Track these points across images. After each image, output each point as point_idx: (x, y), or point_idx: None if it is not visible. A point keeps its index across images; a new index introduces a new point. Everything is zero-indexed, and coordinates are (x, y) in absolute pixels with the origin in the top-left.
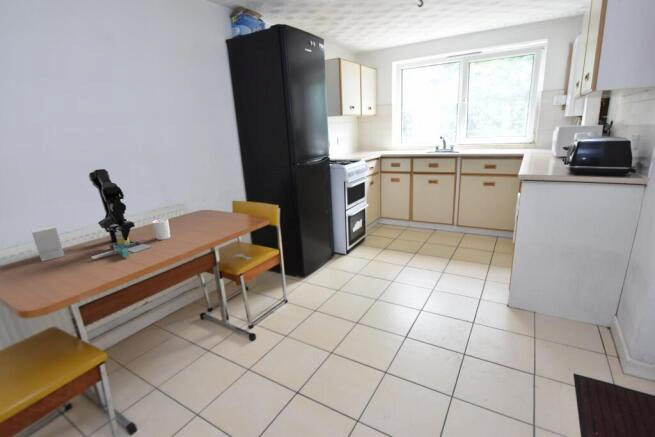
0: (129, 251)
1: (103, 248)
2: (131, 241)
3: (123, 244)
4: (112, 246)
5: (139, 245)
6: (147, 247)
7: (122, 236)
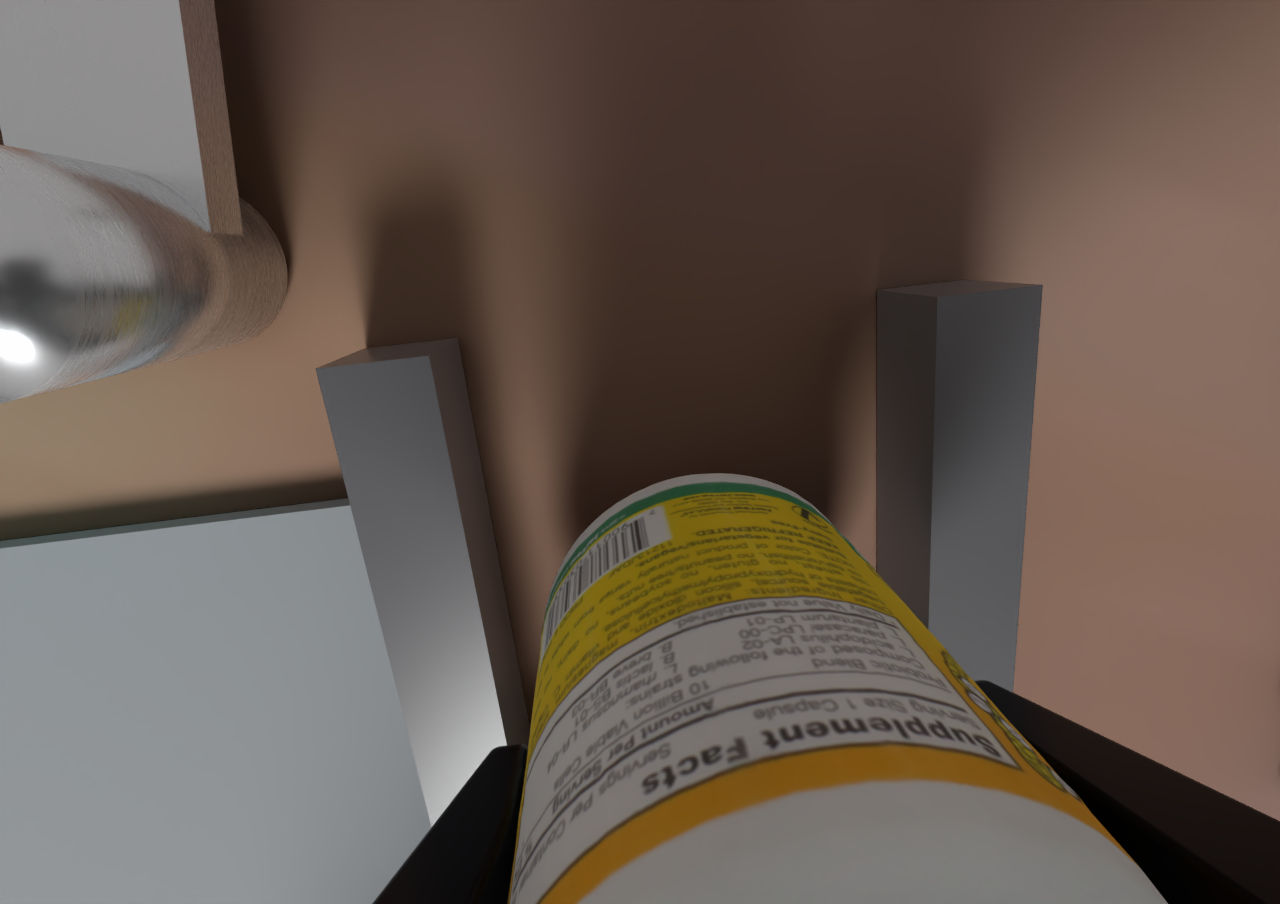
0: (131, 526)
1: (1213, 177)
2: None
3: (554, 596)
4: (912, 350)
5: (388, 827)
6: (4, 888)
7: (512, 880)
